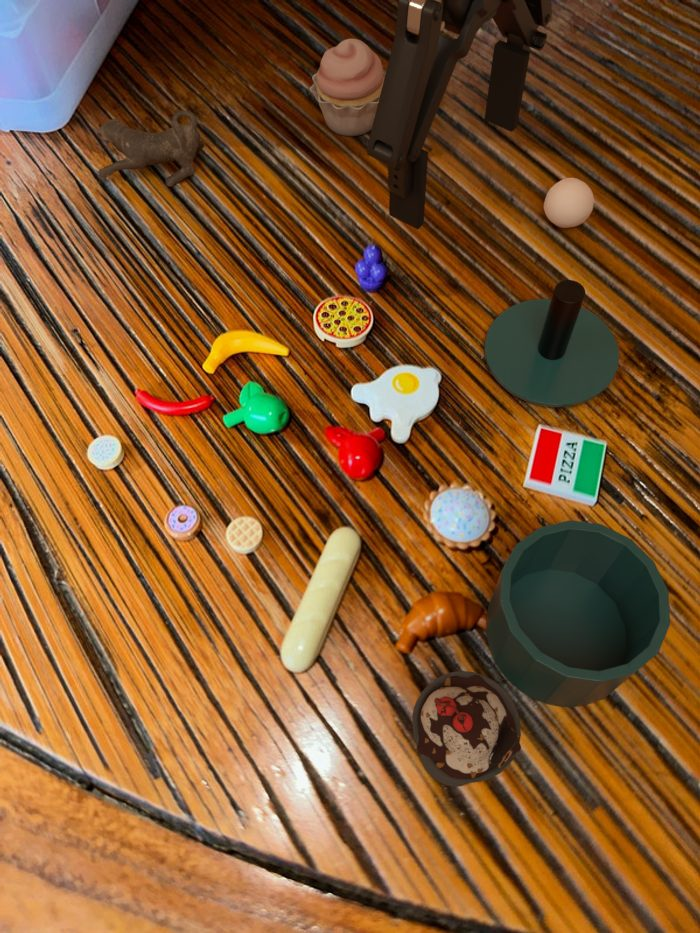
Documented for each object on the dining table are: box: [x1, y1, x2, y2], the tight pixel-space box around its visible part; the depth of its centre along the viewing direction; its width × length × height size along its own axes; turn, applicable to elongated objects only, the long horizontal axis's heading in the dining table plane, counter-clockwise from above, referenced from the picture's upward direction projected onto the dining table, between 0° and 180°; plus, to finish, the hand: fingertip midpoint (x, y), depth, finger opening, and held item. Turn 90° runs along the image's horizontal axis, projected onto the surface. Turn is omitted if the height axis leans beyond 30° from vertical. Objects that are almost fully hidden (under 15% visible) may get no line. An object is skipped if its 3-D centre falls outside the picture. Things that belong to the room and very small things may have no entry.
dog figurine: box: [97, 109, 206, 187], centre depth 84 cm, size 12×6×7 cm, turn 90°
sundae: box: [411, 670, 522, 787], centre depth 49 cm, size 7×7×15 cm
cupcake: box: [309, 38, 386, 137], centre depth 86 cm, size 9×9×10 cm
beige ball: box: [543, 177, 595, 229], centre depth 79 cm, size 5×5×5 cm
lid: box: [483, 279, 620, 408], centre depth 69 cm, size 12×12×9 cm
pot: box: [485, 519, 671, 708], centre depth 56 cm, size 11×11×8 cm
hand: (455, 170), depth 61 cm, fingers open, 13 cm apart
